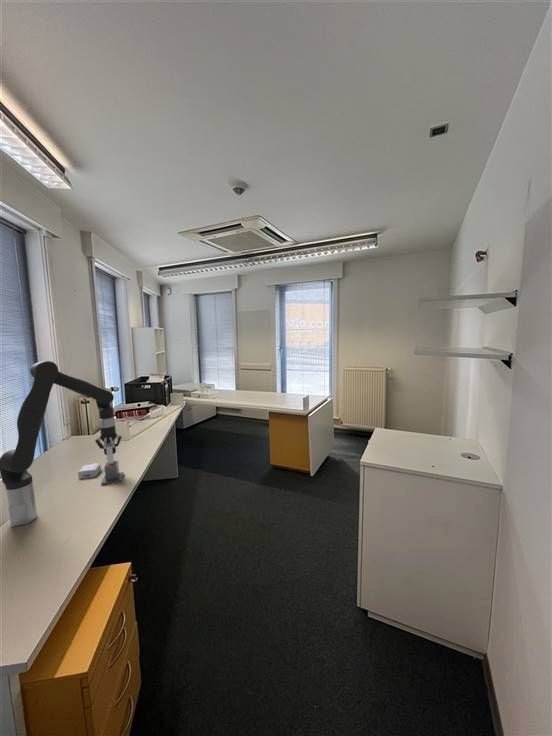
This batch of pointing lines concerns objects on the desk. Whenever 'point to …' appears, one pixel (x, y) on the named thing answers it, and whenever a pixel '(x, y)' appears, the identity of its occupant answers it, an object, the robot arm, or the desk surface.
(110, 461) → the column
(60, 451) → the desk surface
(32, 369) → the robot arm
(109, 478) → the stand
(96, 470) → the charger
